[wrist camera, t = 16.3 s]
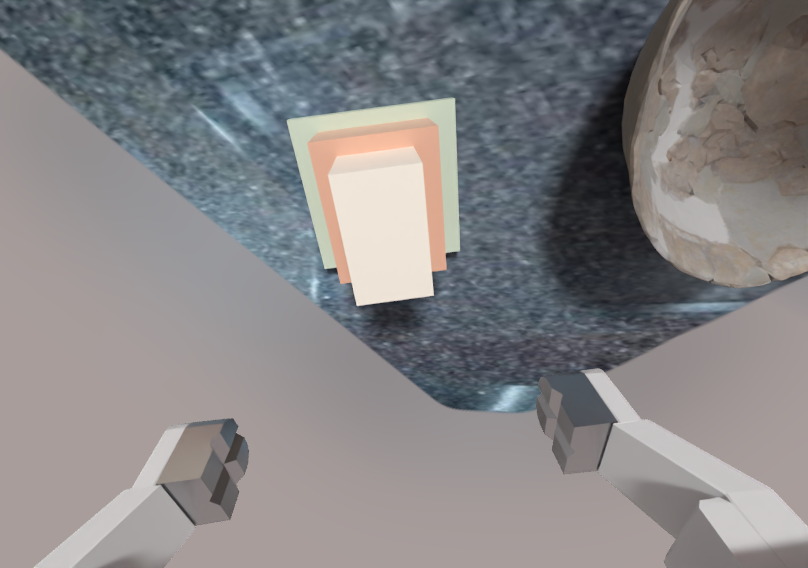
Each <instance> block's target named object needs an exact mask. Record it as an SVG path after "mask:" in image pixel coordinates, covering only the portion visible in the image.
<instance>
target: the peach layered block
mask: <svg viewBox="0 0 808 568" xmlns="http://www.w3.org/2000/svg"><path fill="white" fill-rule="evenodd" d="M287 124H288V128H289V132H290V136H291V140H292V143H293V147H294V151H295V155H296V159H297V163H298V167H299V171H300V174H301V178H302V182H303V186H304V190H305V194H306V198H307V202H308V205H309V209H310V213H311V217H312V221H313V225H314V229H315V233H316V236H317V240H318V244H319V248H320V252H321V256H322V260H323V264H324V267H325V269H329V268H336V267H337V271H338V275H339V279H340V283H341V284H344V283H351V278H350V273H349V269H348V264H347V260H346V255H345V250H344V246H343V241H342V237H341V232H340V228H339V223H338V219H337V214H336V210H335V205H334V201H333V196H332V192H331V187H330V183H329V178H328V174H329V172H330V170H331V168H332V165H333V163H334V161H335V159H336V157H337V156H345V155H352V154H360V153H367V152H375V151H382V150H390V149H397V148H405V147H412V146H414V148H415V150H416V152H417V154H418V155H419V157H420V159H421V161H422V163H423V174H424V186H425V198H426V210H427V221H428V233H429V245H430V257H431V269H432V272H434V271H441V270H447V269H446V253H449V252H456V251H460V236H459V206H458V177H457V147H456V118H455V98H445V99H437V100H429V101H422V102H414V103H407V104H399V105H391V106H384V107H376V108H368V109H361V110H353V111H346V112H338V113H330V114H323V115H315V116H307V117H300V118H292V119H289V120H287Z"/></svg>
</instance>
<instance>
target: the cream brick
mask: <svg viewBox="0 0 808 568" xmlns="http://www.w3.org/2000/svg"><path fill="white" fill-rule="evenodd" d="M328 178H329V183H330V187H331V192H332V196H333V201H334V205H335V210H336V214H337V219H338V223H339V228H340V232H341V237H342V241H343V246H344V250H345V255H346V260H347V264H348V269H349V273H350V278H351V282H352V287H353V291H354V296H355V300H356V305H357V306H360V305H368V304H375V303H383V302H390V301H397V300H405V299H412V298H419V297H427V296H434V293H433V281H432V269H431V257H430V245H429V233H428V221H427V210H426V198H425V186H424V174H423V163H422V161H421V159H420V157H419V155H418V154H417V152H416V150H415V148H414V146H412V147H405V148H397V149H390V150H382V151H375V152H367V153H360V154H352V155H345V156H337V157H336V159H335V161H334V163H333V165H332V168H331V170H330V172H329V174H328Z"/></svg>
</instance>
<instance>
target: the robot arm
mask: <svg viewBox="0 0 808 568" xmlns="http://www.w3.org/2000/svg"><path fill="white" fill-rule="evenodd" d="M539 388H540V390H541V392H542V393H541V395H540V396H539V397H538V398H537V404H536V409H537V415H538V419H539V422H540V425H541V427H542V430H543V432H544V434H545V435H547V436H548V437H549V438H551V439H552V440H553V446H552V451H553V453H554V455H555V457H556V459H557V461H558V463H559V465H560V467H561V469H562V471H563V474H571V473H580V472H590V471H598V473H599V474H600V475H601V476H603V477H604V478H605V479H606V480H607V481H608V482H610V483H611V484H612V485H613V486H614V487H616V488H617V489H618V490H619V491H620V492H621V493H622V494H624V495H625V496H626V497H627V498H629V499H630V500H631V501H632V502H633V503H634V504H635V505H637V506H638V507H639V508H640V509H641V510H642V511H644V512H645V513H646V514H647V515H648V516H650V517H651V518H652V519H653V520H654V521H655V522H656V523H658V524H659V525H660V526H661V527H662V528H663V529H665V530H666V531H667V532H668V533H669V534H670V535H672V536H673V537H674V538H675V539H676V540H675V542H674V543H673V545H672V546H671V548H670V550H669V551H668V553H667V555H666V557H665V561H664V563H665V565H666V566H667V568H808V526H807V525H806V524H805V523H804V522H803V521H802V520H801V519H800V518H799V517H798V516H797V515H796V514H795V513H794V512H793V511H792V510H791V508H790V507H788V505H787V504H786V503H785V502H784V501H783V500H782V499H781V498H780V497H779V496H778V495H777V494H776V493H775V492H774V491H773V490H772V489H771V488H769V487H768V486H766V485H764V484H762V483H760V482H759V481H757V480H755V479H753V478H752V477H750V476H748V475H746V474H744V473H743V472H741V471H739V470H737V469H736V468H734V467H732V466H730V465H728V464H727V463H725V462H723V461H721V460H720V459H718V458H716V457H714V456H713V455H711V454H709V453H707V452H705V451H703V450H702V449H700V448H698V447H697V446H695V445H693V444H691V443H689V442H688V441H686V440H684V439H682V438H680V437H679V436H677V435H675V434H673V433H672V432H670V431H668V430H666V429H665V428H663V427H661V426H659V425H657V424H656V423H654V422H652V421H650V420H649V419H644V420H642V419H641V418H640V417H639V416H638V414H637V413H636V412H635V411H634V409H633V408H632V407H631V405H630V404H629V403H628V402H627V401H626V399H625V398H624V397H623V395H622V394H621V393H620V391H619V390H618V389H617V388H616V386H615V385H614V384H613V383H612V382H611V380H610V379H609V378H608V376H607V375H606V374H605V372H604V371H603V370H601V369H599V368H598V369H591V370H584V371H574V372H568V373H561V374H554V375H547V376H542V377H541V378H540V380H539ZM237 428H238V425H237V424H236V422H235V421H234V419H222V420H212V421H202V422H193V423H185V424H177V425H171V426H170V427H169V428H168V429H167V430H166V431H165V432H164V434H163V435H162V437H161V439H160V441H159V442H158V444H157V446H156V448H155V449H154V451H153V453H152V454H151V456H150V458H149V459H148V461H147V463H146V464H145V466H144V468H143V470H142V471H141V473H140V475H139V476H138V478H137V480H136V482H135V483H134V485H133V487H132V488H131V489H127V490H124V491H123V492H122V493H121V494H119V495H118V496H117V497H116V498H115V499H114V500H112V501H111V502H110V503H109V504H108V505H107V506H106V507H104V508H103V509H102V510H101V511H99V512H98V513H97V514H96V515H95V516H94V517H93V518H91V519H90V520H89V521H88V522H87V523H85V524H84V525H83V526H82V527H81V528H79V530H77V531H76V532H75V533H74V534H72V535H71V536H70V537H69V538H68V539H67V540H66V541H64V542H63V543H62V544H61V545H59V547H57V548H56V549H55V550H54V551H52V552H51V553H50V554H49V555H48V556H47V557H46V558H44V559H43V560H42V561H41V562H40V563H38V564H37V565H36V566H35V567H34V568H164V567H165V566H166V565H167V563H168V562H169V561H170V560H171V558H172V557H173V556H174V554H175V553H176V552H177V551H178V549H179V548H180V547H181V546H182V544H183V543H184V542H185V541H186V539H187V538H188V537H189V536H190V534H191V533H192V532H193V531H194V529H195V528H196V527H195V526H196V525H202V524H208V523H214V522H220V521H226V520H230V519H231V516H232V513H233V510H234V506H235V504H236V500H237V497H238V494H239V490H238V488H237V485H236V483H237V482H238V481H239V480H240V479H241V478H242V477H243V476H244V475H245V472H246V469H247V465H248V457H249V450H248V445H247V442H246V440H245V438H244V437H242V436H241V435H239V434H237V433H236V431H237Z"/></svg>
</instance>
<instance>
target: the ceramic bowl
mask: <svg viewBox="0 0 808 568" xmlns="http://www.w3.org/2000/svg"><path fill="white" fill-rule="evenodd" d="M622 140H623V151H624V155H625V159H626V163H627V167H628V171H629V181H630V186H631V197H632V201H633V205H634V209H635V211H636V214H637V216H638V218H639V221H640V224H641V226H642V229H643V231H644V232H645V234H646V236H647V237H648V239H649V240H650V242H651V243H652V245H653V246H654V247H655V249H656V250H657V251H658V252H659V253H660V254H661V256H662V257H664V258H665V259H666V260H667V261H668V262H669V263H670V264H671V265H672V266H673V267H674V268H676V269H678V270H680V271H681V272H684V273H686V274H688V275H690V276H692V277H694V278H697V279H700V280H703V281H706V282H707V281H709V282H710V283H713V284H717V285H721V286H726V287H732V288H744V287H752V286H761V285H765V284H768V283H771V281H782V280H785V279H787V278H789V277H792V276H796V275H799V274H802V273H804V272H807V271H808V0H670V1H669V3H668V4H667V6H666V7H665V9H664V11H663V12H662V14H661V15H660V17H659V18H658V20H657V22H656V23H655V25H654V27H653V29H652V31H651V33H650V35H649V37H648V39H647V40H646V42H645V44H644V46H643V48H642V50H641V52H640V54H639V56H638V59H637V61H636V64H635V66H634V69H633V72H632V74H631V77H630V82H629V85H628V89H627V92H626V96H625V99H624V111H623V118H622ZM770 280H771V281H770Z"/></svg>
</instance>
